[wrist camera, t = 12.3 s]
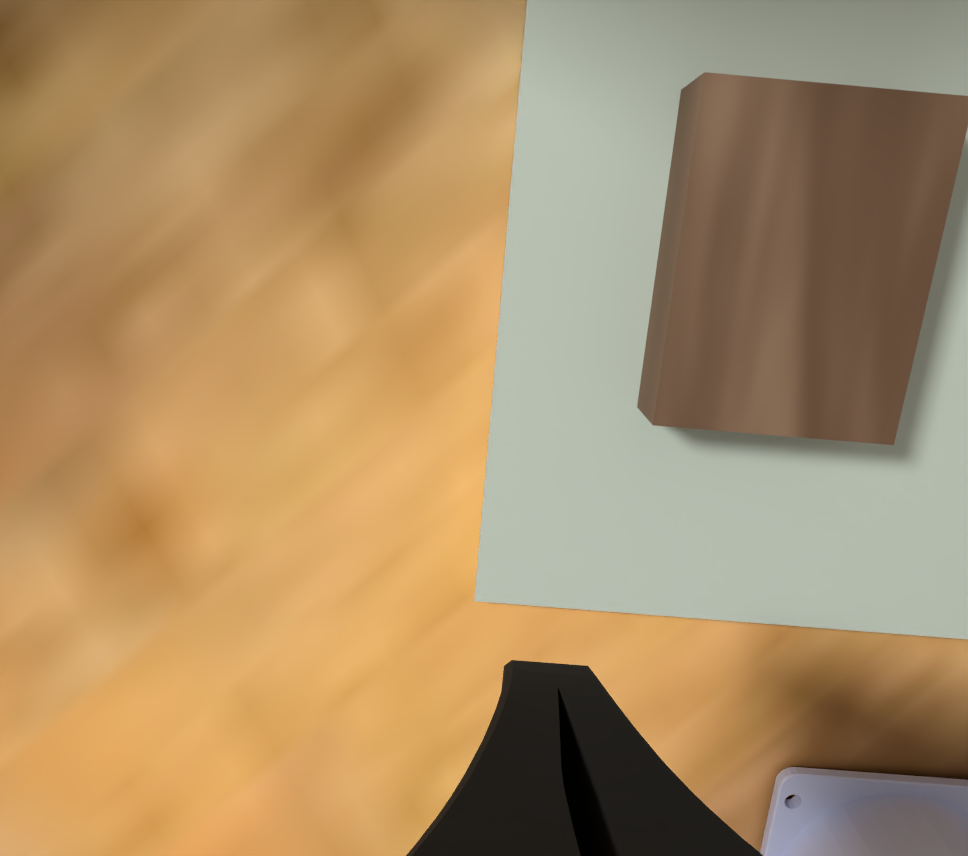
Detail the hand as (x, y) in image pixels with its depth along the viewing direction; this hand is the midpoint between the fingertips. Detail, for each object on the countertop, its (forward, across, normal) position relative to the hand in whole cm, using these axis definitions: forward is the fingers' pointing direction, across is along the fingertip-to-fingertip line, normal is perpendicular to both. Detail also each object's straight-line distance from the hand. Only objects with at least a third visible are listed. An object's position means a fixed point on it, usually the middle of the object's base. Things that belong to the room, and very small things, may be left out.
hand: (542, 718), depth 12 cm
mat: (+10, -8, -6) cm, 14 cm away
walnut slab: (+8, -9, -7) cm, 14 cm away
